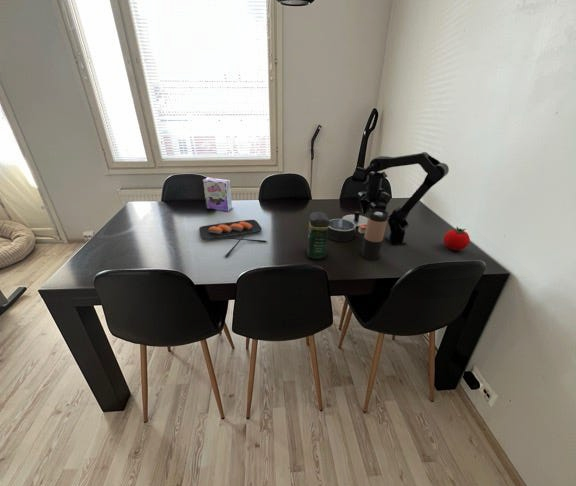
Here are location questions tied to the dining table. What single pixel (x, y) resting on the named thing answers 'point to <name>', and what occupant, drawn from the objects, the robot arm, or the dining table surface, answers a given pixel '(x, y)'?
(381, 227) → the travel mug
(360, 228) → the sushi
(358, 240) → the dining table surface
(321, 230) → the coffee jar
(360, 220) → the pan lid
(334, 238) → the pan
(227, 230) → the sushi plate
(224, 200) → the candy box
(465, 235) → the tomato
